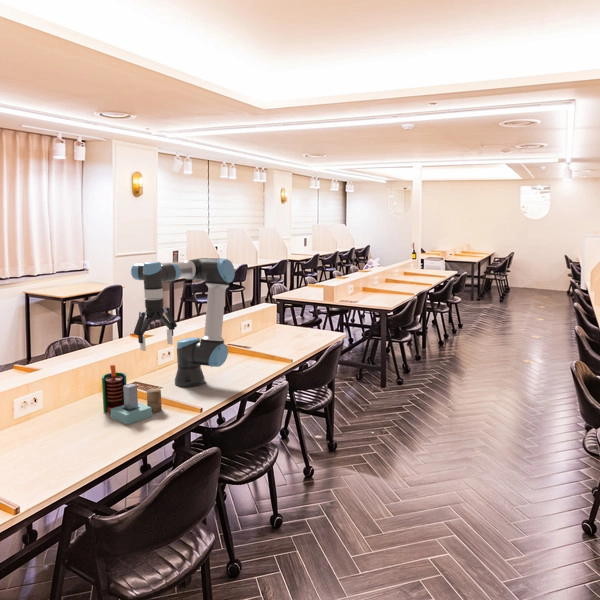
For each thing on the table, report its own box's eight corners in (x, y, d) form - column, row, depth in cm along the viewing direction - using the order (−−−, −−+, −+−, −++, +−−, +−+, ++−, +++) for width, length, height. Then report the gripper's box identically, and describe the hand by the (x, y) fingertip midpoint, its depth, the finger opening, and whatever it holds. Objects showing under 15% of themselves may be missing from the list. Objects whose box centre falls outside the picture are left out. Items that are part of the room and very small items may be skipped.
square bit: (133, 414, 231) (131, 383, 229) (138, 416, 228) (136, 385, 226) (124, 417, 228) (123, 385, 226) (130, 419, 225) (128, 387, 223)
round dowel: (156, 407, 240) (155, 387, 239) (164, 410, 236) (163, 390, 235) (144, 410, 235) (143, 391, 234) (153, 414, 232) (152, 394, 230)
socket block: (135, 410, 236) (135, 401, 236) (151, 416, 229) (151, 407, 228) (111, 417, 227) (110, 408, 227) (127, 424, 220) (126, 415, 219)
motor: (106, 414, 231) (104, 369, 228) (100, 408, 238) (97, 365, 235) (130, 409, 237) (127, 366, 234) (123, 404, 244) (121, 361, 241)
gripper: (172, 293, 238) (175, 340, 242) (122, 301, 220) (126, 351, 223) (183, 295, 234) (185, 342, 237) (132, 303, 215) (136, 354, 219)
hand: (156, 347), depth 230 cm, fingers open, 13 cm apart
